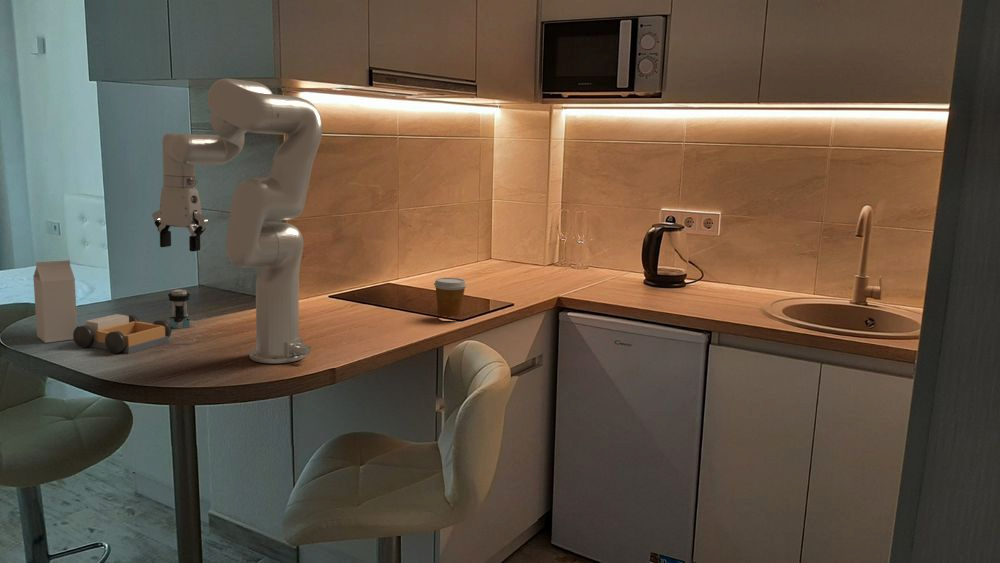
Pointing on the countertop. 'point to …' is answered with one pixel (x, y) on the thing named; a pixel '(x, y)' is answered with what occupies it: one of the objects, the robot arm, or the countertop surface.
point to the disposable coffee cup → (449, 296)
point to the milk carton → (55, 301)
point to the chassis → (122, 333)
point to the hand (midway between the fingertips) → (180, 248)
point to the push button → (179, 309)
